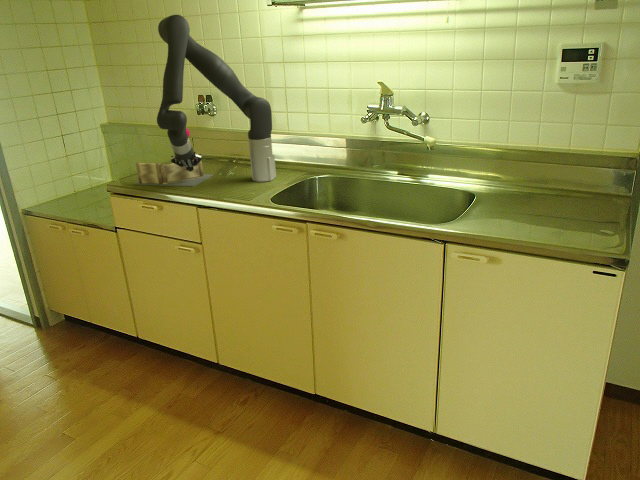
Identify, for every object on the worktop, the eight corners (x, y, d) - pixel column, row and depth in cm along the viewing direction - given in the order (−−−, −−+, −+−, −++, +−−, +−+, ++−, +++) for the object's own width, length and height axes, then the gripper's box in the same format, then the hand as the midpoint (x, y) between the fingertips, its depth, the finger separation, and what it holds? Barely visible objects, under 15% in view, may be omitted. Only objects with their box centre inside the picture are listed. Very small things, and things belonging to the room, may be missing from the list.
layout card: (213, 175, 238) (213, 174, 237) (193, 186, 221) (193, 185, 221) (156, 173, 245) (156, 172, 245) (133, 184, 229) (133, 183, 229)
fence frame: (138, 183, 229) (134, 163, 226) (140, 182, 231) (137, 162, 228) (161, 183, 226) (158, 163, 223) (164, 182, 228) (160, 162, 225)
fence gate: (163, 182, 226) (160, 164, 223) (162, 181, 227) (159, 164, 224) (203, 175, 234) (201, 158, 231) (202, 174, 235) (200, 157, 232)
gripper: (198, 137, 215) (206, 161, 231) (165, 139, 215) (175, 163, 231) (198, 152, 212) (206, 176, 228) (164, 155, 212) (174, 178, 227)
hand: (190, 169), depth 229 cm, fingers closed
